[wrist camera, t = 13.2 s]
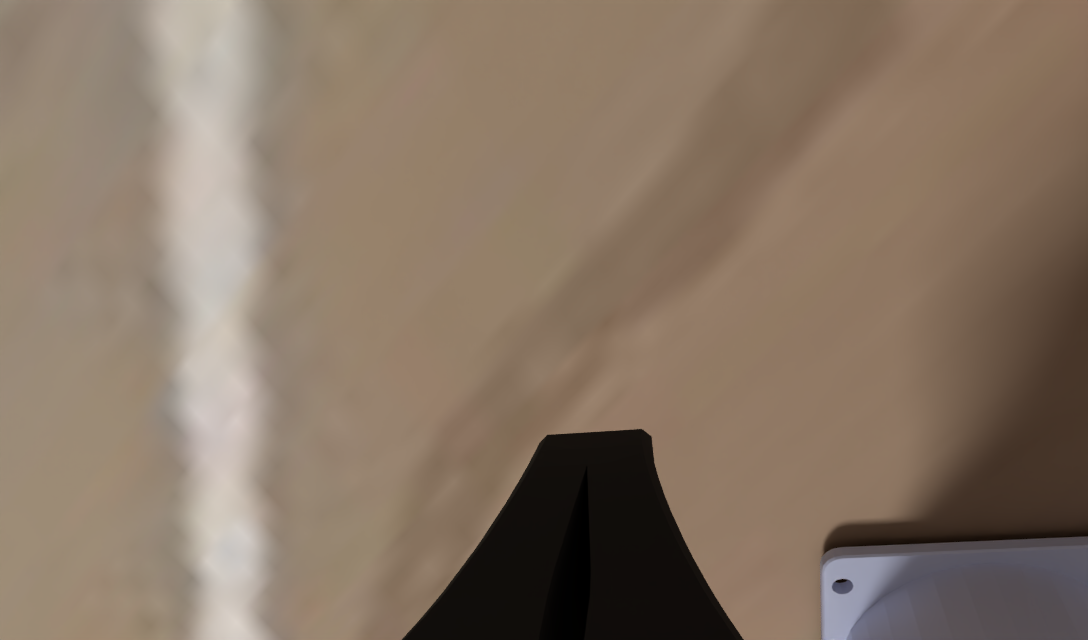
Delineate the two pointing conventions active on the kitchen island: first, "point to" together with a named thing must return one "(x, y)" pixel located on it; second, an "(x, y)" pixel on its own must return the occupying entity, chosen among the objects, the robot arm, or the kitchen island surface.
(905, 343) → the kitchen island surface
